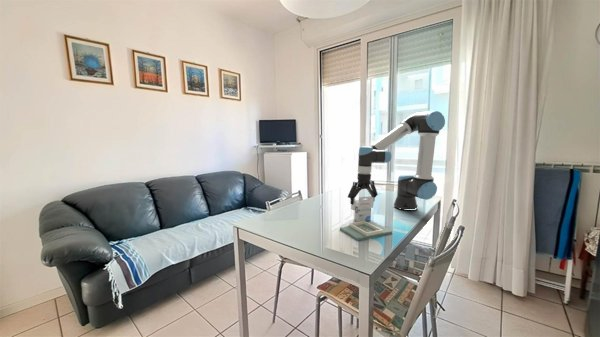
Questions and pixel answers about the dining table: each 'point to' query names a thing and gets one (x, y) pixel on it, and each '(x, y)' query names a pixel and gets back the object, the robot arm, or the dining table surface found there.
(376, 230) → the board
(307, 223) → the dining table surface
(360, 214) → the ink box
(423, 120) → the robot arm
